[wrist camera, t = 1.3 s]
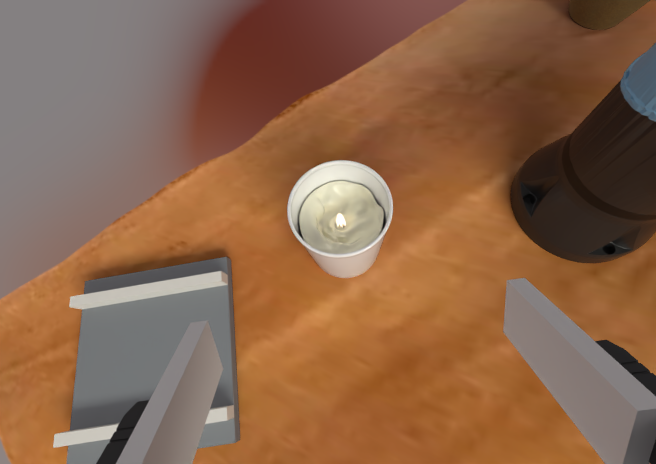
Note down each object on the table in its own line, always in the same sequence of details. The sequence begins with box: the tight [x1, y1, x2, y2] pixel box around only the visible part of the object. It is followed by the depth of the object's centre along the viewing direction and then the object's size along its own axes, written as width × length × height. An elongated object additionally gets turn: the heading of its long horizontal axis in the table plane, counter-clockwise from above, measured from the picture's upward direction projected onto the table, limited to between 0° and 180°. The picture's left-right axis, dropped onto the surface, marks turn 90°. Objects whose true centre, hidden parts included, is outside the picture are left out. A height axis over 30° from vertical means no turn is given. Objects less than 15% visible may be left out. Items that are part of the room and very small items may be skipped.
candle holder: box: [287, 160, 393, 278], centre depth 38 cm, size 10×10×12 cm
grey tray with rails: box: [53, 257, 240, 464], centre depth 40 cm, size 20×18×4 cm
